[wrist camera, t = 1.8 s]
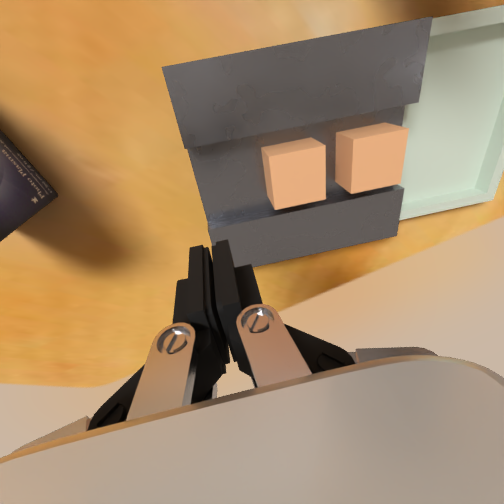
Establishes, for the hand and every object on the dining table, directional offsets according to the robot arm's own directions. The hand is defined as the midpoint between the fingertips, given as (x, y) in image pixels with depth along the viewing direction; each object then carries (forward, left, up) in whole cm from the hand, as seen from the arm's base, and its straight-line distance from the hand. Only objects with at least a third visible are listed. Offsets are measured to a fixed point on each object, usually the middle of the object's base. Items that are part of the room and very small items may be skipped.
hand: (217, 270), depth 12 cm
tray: (-22, 0, -15) cm, 26 cm away
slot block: (-7, 0, -15) cm, 17 cm away
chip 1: (-6, 0, -12) cm, 13 cm away
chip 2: (-12, 0, -12) cm, 17 cm away
